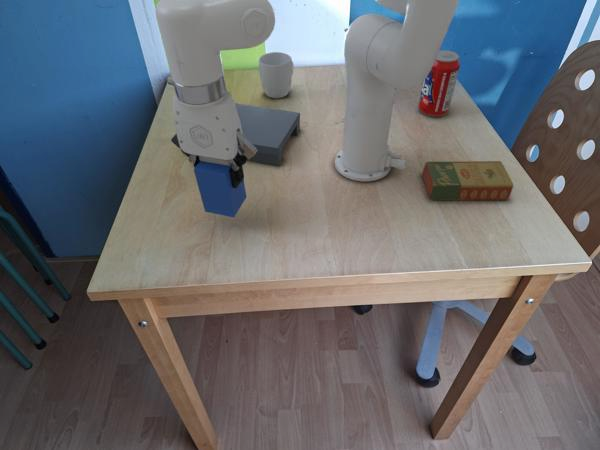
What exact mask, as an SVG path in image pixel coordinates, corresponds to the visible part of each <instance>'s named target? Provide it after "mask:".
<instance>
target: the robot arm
mask: <svg viewBox="0 0 600 450" xmlns="http://www.w3.org/2000/svg"><path fill="white" fill-rule="evenodd" d="M374 2H375V3H377V4H378V5H379V6H382V7H383V8H386V9H388V10H390V11H393V12H395V13H397V14H400V15H402V16H404V20H403V23H401V22H400V21H397V20H395V19H393V18H389V17H388V16H385V15H382V14H379V13H366V14H362V15H360V16H358V17H356V18H355V19H354V20H353V21H352V22H351V23H350V25H349V26H348V28H347V29H348V30H347V32H345V36H344V42H343V56H344V57H343V58H344V65H345V75H346V91H345V105H344V120H343V121H344V123H343V133H342V134H343V135H342V149H341V150H340V151H339V152H338V153H336V155H335V157H334V167H335V169H336V171H337V172H338V173H339V175H341V176H342V177H344V178H347V179H349V180H352V181H355V182H373V181H378V180H380V179H382V178H385V177H386V176H387V175H388V174H389V173H390V171H391V168H396V169H401V170H404V169H405V168H406V167H405V166H406V162H407V160H406V159H402V154H401V153H397V152H396V153H395V152H392V151H390V144H388V143H389V135H390V134H389V133H390V128H391V121H392V115H393V107H394V103H395V95H396V94H395V93H396V89H397V90H400V91H411V90H414V89H415V88H417V87H419V86H420V85H422V84H423V81H424V80H425V78H426V77H427V75H428V74H429V72H430V70H431V68H432V66H433V64H434V62H435V60H436V57H437V55H438V53H439V50H441V48H442V45H443V43H444V41H445V38H446V35H447V33H448V31H449V28H450V27H451V23H452V21H453V19H454V16H455V13H456V10H457V9H458V6H459V3H460V0H374ZM274 10H275V9H274V8H273V6H272V3H270V0H159V1H158V2H157V4H156V6H155V18H156V22H157V26H158V29H159V33H160V37H161V41H162V44H163V49H164V52H165V56H166V60H167V64H168V67H169V71H170V75H168V76H167V79H166V82H167V84H168V85H170V86H172V87H173V88H174V92H175V93H174V94H173V96H172V113H173V122H174V128H175V132H176V133H175V134H174V135H173V136H172V137H171V139H170V141H171V142H172V144H174V145H175V146H176V147H177V148H178V149H180V151H181V152H182V154H183V155H185V156H186V157H187V158H188V162H190V164H193V167H194V168H195V167H196V166H197V164H198V163H199V162H200V159H199V156H204V157H210V158H216V159H222V160H227V161H228V163H229V164H230V166H231V169H230V177H231V182H232V187H233V188H237V187H238V185H239V184H240V182H242V181H243V179H244V178H245V174H244V167H243V166H244V165H245V164H246V163H247V162H248V161H247V160H249V159H250V158H251V157H253V156H254V155H255V153H256V152H257V148H256V147H255V146H254V145H253V144H252V143H250V142H249V141H248V140H247V139H246V138H245V137H244V136H243V132H242V127H241V123H240V119H239V115H238V112H237V108H236V105H235V103H236V102H235V100H234V98H233V96H232V93H231V92H230V91H228V90H227V85H226V79H225V73H224V67H223V60H222V54H221V52H222V51H233V50H245V49H246V50H247V49H251V48H252V49H253V48H255V47H258V46H260V45H262V44H263V43H265V42H266V41H267V40H268V39H270V36H272V34H273V32H274V30H275V26H276V25H275V24H276V14H275V11H274ZM238 147H241V148H242V149H243V150H244V151H245V152H244V153H242V154H241V152H240V150H239V149H238ZM234 157H235V158H236V160H235V158H234ZM194 168H193V169H194ZM244 180H245V179H244Z"/></svg>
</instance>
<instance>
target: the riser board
mask: <svg viewBox="0 0 600 450" xmlns="http://www.w3.org/2000/svg"><path fill="white" fill-rule="evenodd" d="M234 103H235V105H236V108H237V112H238V115H239V119H240V123H241V127H242V132H243V136H244V137H245V138H246V139H247V140H248V141H249V142H250V143H252V144H253V145H254V146H255V147H256V148H257V152H256V153H255V155H254V156H253V157H251V158H250V159H249V160H247V161H246V162H252V163H253V162H254V163H259V164H264V165H268V166H269V165H270V166H275V167H280V165H281V164H282V163H283V149H284V147H285V145H286V144H287V142H288V140H289V139H290V137H291V136H295V137H298V135H299V134H300V131H301V113H300V112H297V111H289V110H284V109H283V110H282V109H276V108H269V107H263V106H256V105H249V104H243V103H236V102H234ZM238 149H239V150H240V152H241V154H242V153H244V152H245V151H244V150H243V149H242V148H241V147H238Z"/></svg>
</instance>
